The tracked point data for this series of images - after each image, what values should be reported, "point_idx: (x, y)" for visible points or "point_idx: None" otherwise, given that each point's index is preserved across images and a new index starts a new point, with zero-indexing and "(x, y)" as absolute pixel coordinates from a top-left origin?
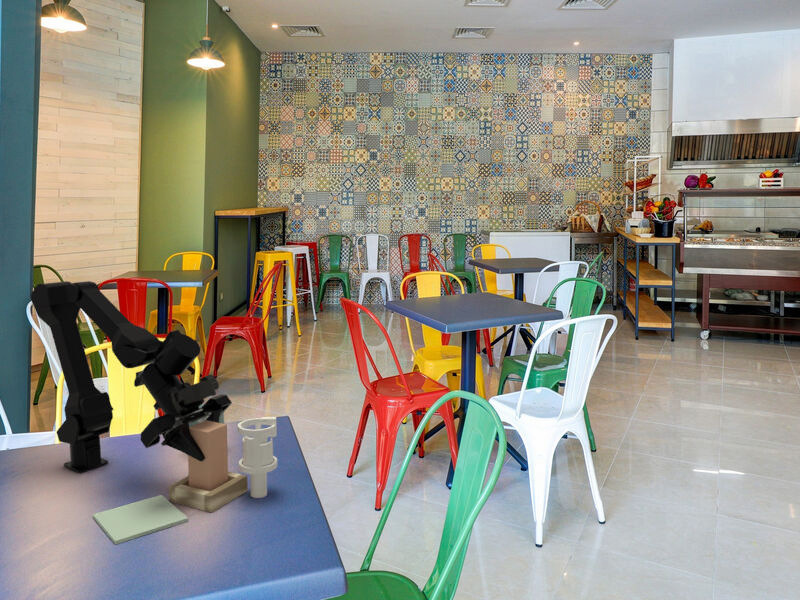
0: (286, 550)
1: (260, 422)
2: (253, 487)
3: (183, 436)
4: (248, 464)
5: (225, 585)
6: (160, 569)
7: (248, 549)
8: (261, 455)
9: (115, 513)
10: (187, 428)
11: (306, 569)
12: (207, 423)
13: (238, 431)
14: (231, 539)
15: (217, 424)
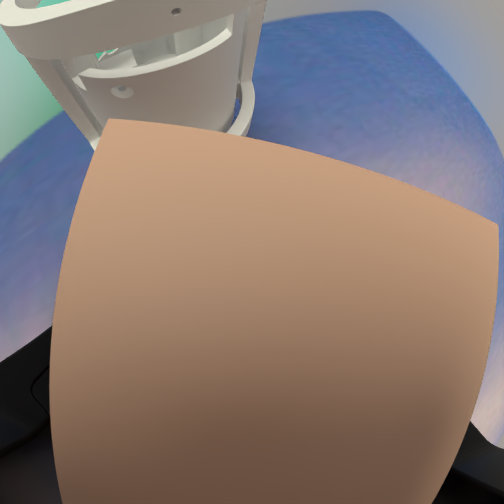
0: (388, 53)
1: (29, 3)
2: None
3: (485, 444)
4: (234, 102)
5: (477, 117)
6: (498, 220)
7: (416, 103)
8: (221, 31)
9: None
10: (500, 475)
11: (407, 35)
12: (170, 484)
13: (235, 4)
14: (409, 139)
15: (142, 283)
